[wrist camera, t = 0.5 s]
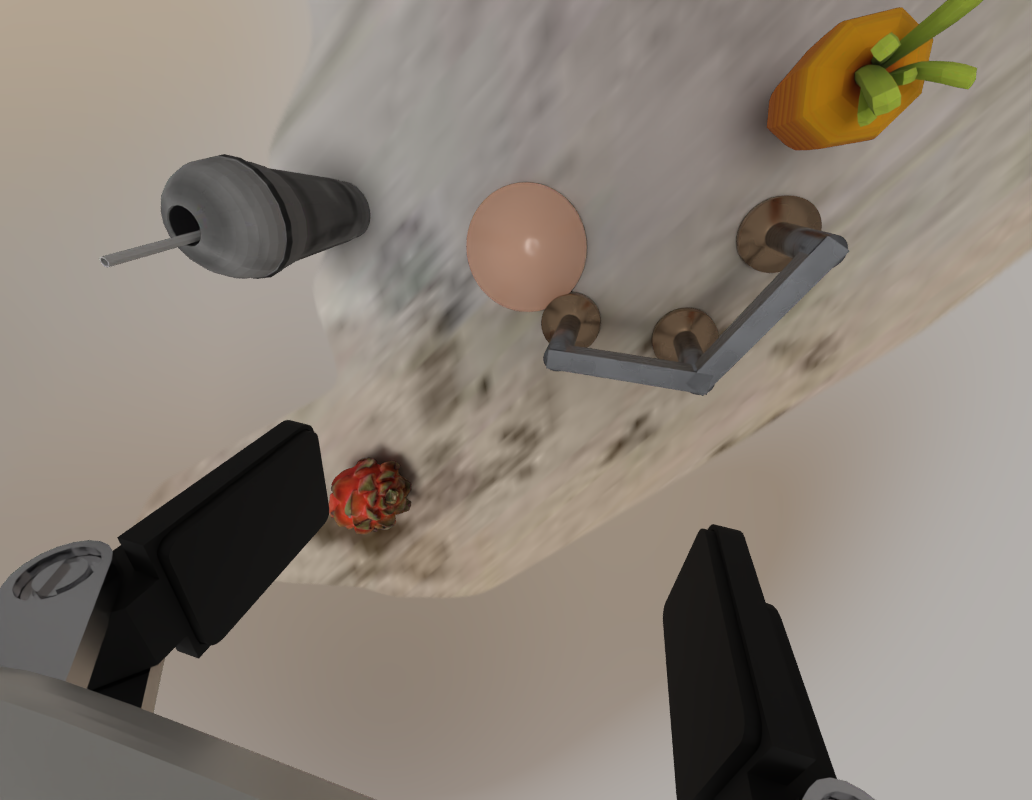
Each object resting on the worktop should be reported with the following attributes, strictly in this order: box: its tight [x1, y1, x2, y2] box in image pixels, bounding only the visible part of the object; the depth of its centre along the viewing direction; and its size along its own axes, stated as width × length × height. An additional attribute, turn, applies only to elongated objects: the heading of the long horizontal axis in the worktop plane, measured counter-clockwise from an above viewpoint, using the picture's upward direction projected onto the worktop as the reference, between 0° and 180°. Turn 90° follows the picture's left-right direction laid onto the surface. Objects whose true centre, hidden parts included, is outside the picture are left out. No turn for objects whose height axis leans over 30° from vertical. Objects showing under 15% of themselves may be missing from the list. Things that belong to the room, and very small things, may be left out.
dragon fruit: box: [329, 458, 411, 534], centre depth 47 cm, size 8×8×12 cm
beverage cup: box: [99, 154, 370, 279], centre depth 28 cm, size 7×7×20 cm
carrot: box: [767, 0, 983, 150], centre depth 20 cm, size 5×5×15 cm
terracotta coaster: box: [466, 182, 587, 312], centre depth 34 cm, size 10×10×1 cm
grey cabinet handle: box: [541, 196, 849, 396], centre depth 30 cm, size 21×10×9 cm, turn 118°
